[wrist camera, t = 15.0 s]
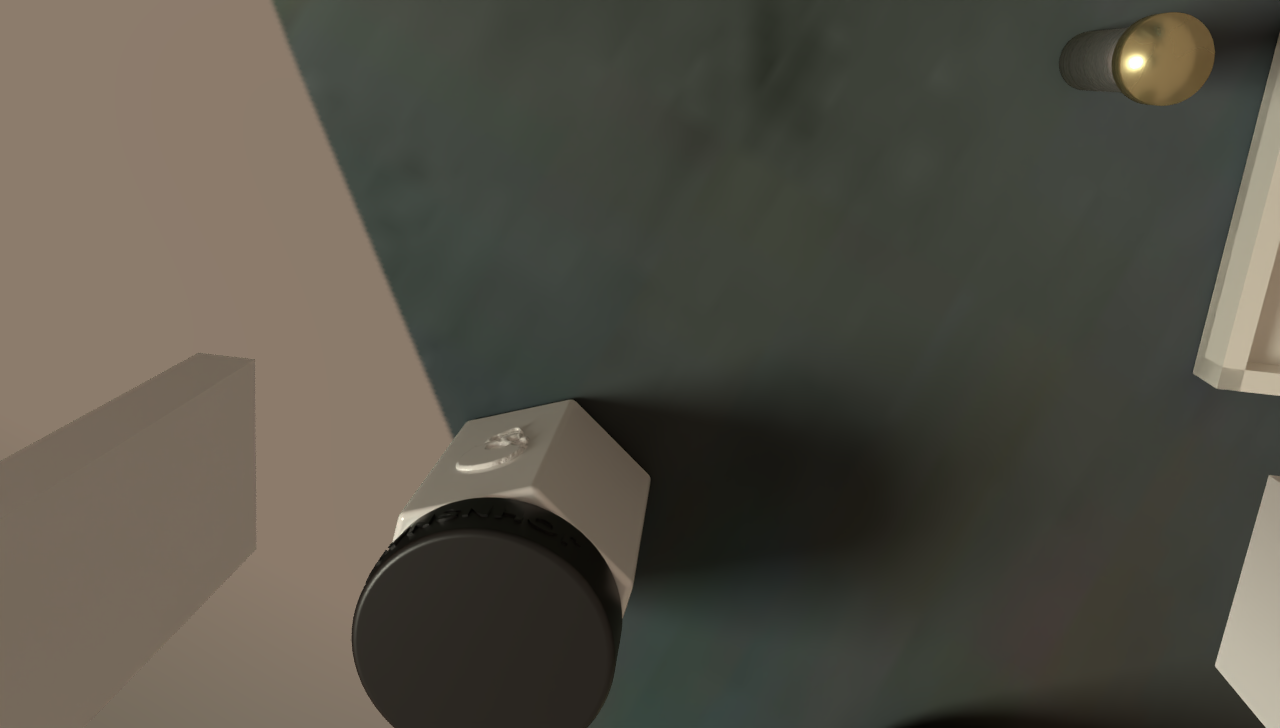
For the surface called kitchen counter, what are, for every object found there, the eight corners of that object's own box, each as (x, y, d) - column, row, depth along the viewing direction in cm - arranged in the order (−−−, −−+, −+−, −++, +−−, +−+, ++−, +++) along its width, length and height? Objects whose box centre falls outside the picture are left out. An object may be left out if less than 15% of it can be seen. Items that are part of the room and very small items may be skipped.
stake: (1058, 18, 36) (1132, 8, 30) (1134, 26, 36) (1224, 17, 30) (1043, 95, 37) (1112, 101, 31) (1117, 102, 37) (1202, 110, 31)
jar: (626, 380, 41) (590, 501, 30) (673, 564, 43) (657, 744, 32) (413, 425, 42) (299, 559, 31) (469, 603, 44) (381, 789, 33)
